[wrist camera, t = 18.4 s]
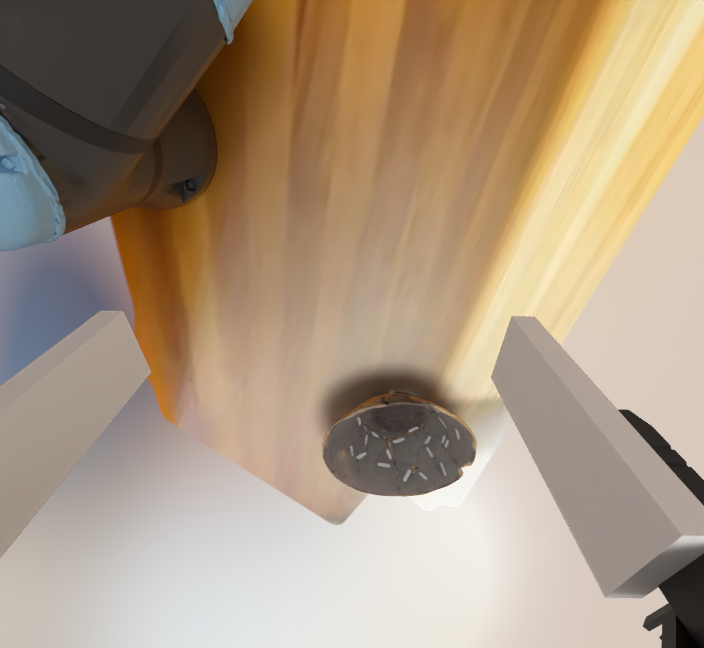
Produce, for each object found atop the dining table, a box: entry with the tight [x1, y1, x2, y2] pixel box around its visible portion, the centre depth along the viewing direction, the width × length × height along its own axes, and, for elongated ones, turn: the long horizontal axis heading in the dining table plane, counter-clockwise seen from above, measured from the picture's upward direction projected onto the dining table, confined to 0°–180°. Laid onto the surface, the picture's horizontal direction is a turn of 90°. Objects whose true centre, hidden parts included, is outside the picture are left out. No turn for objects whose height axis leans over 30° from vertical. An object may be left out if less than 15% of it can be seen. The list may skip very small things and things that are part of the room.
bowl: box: [322, 393, 477, 496], centre depth 55 cm, size 25×25×10 cm
